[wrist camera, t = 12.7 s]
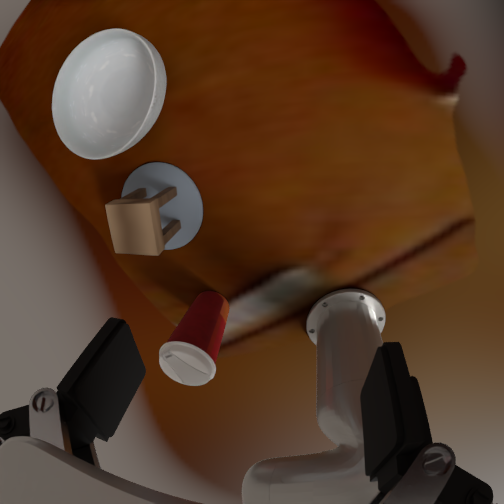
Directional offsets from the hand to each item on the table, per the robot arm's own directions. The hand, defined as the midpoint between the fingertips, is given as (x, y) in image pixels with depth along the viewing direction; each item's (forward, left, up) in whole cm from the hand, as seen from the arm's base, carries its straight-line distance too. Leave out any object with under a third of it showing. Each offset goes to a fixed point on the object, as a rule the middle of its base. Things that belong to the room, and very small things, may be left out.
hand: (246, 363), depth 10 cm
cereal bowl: (+25, +6, -29) cm, 38 cm away
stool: (+10, +15, -28) cm, 33 cm away
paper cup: (-6, +22, -28) cm, 36 cm away
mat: (+10, +15, -28) cm, 33 cm away
